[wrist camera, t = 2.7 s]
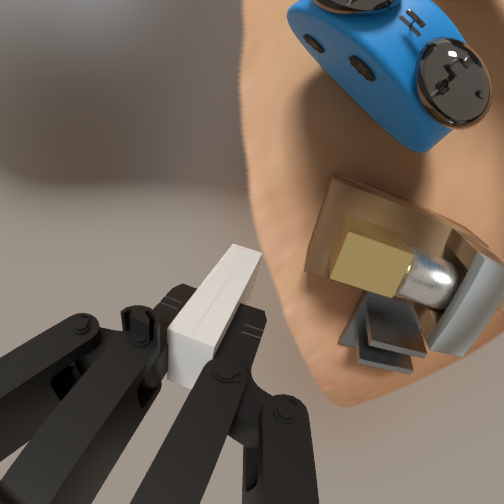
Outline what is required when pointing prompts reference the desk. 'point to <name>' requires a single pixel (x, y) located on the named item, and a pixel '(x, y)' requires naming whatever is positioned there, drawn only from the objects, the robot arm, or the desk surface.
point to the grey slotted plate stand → (384, 333)
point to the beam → (426, 239)
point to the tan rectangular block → (369, 256)
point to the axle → (430, 280)
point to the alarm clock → (398, 64)
